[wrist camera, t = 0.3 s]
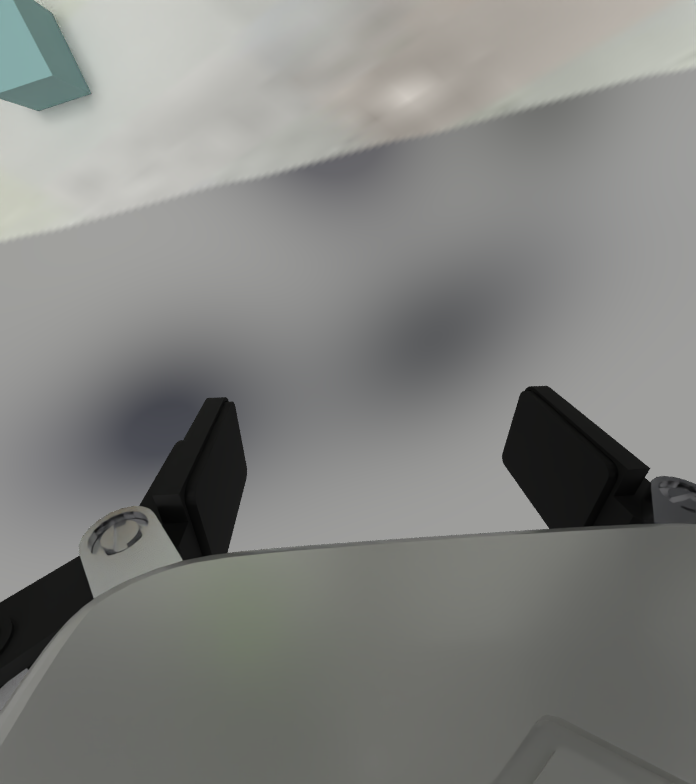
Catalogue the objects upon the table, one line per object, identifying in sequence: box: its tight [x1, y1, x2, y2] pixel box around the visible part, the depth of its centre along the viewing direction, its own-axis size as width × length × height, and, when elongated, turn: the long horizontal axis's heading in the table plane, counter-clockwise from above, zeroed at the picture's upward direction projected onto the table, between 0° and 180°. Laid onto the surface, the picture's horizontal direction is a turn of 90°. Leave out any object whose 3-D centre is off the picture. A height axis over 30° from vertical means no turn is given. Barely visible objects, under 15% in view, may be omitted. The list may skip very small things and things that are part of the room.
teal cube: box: [0, 0, 91, 111], centre depth 26 cm, size 5×5×5 cm
